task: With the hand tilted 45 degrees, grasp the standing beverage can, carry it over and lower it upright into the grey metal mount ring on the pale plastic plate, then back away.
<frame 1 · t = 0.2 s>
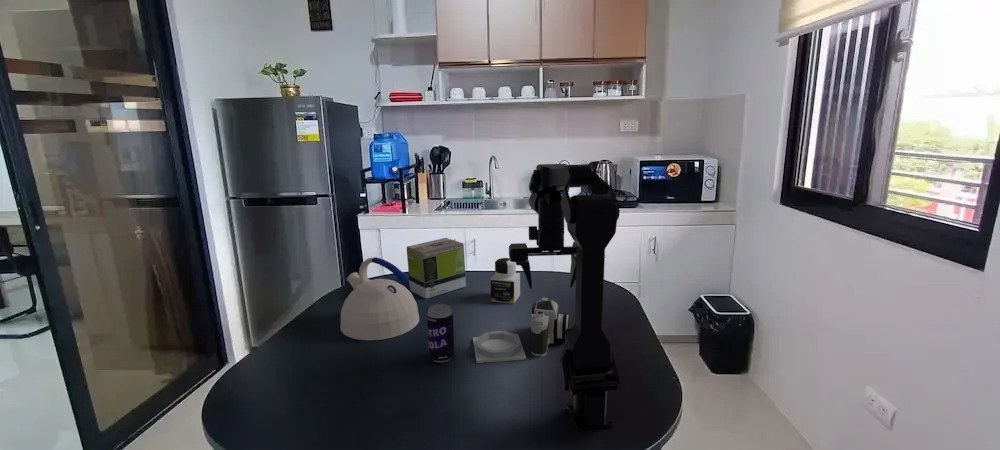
hand: (550, 287, 105), 14 cm above the table, tool pointing down, fingers open, 9 cm apart
tea box: (437, 289, 144), on the table
kettle: (380, 323, 121), on the table
beverage can: (441, 358, 103), on the table
medicine bottle: (505, 299, 136), on the table
camera: (549, 342, 110), on the table
mount: (498, 349, 106), on the table
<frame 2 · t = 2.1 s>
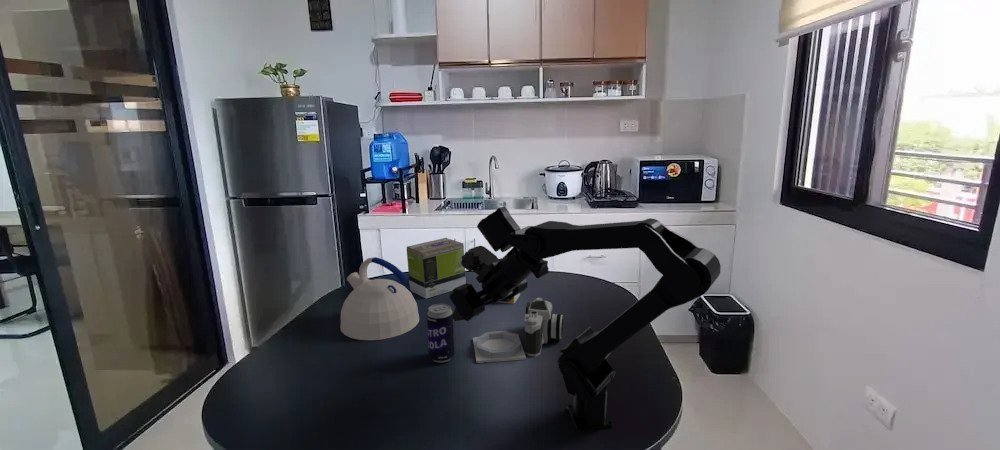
hand: (469, 310, 95), 13 cm above the table, tool tilted 45°, fingers open, 9 cm apart
camera: (543, 342, 110), on the table
everything else where it was.
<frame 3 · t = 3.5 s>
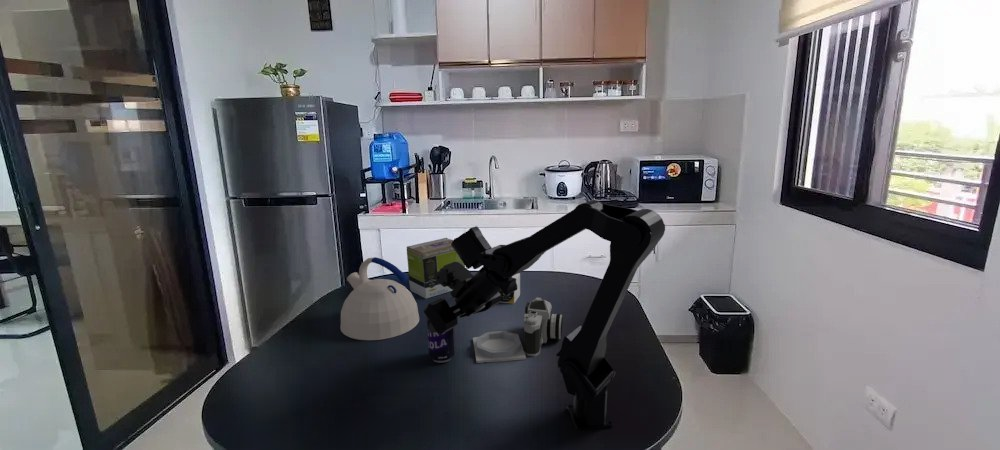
hand: (445, 322, 100), 9 cm above the table, tool tilted 45°, fingers open, 9 cm apart
nothing on the table moved.
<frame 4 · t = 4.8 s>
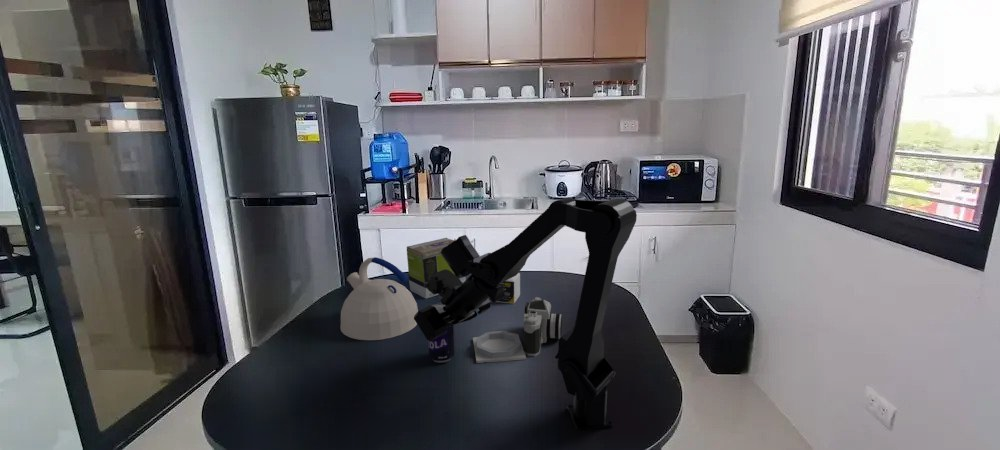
hand: (436, 329, 102), 7 cm above the table, tool tilted 45°, fingers closed on beverage can, 6 cm apart
beverage can: (441, 358, 103), on the table, touching gripper
everything else where it was.
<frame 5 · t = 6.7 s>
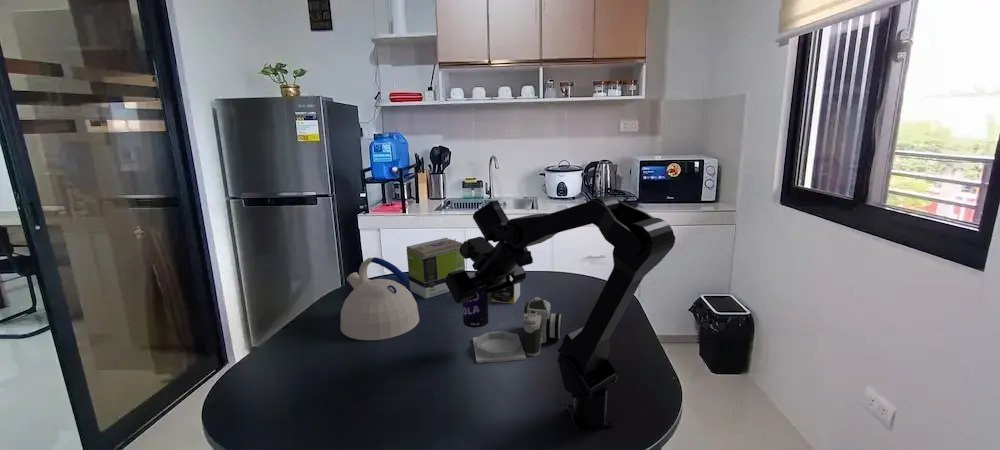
hand: (471, 296, 103), 13 cm above the table, tool tilted 45°, fingers closed on beverage can, 6 cm apart
beverage can: (476, 326, 104), point 6 cm above the table, touching gripper
camera: (542, 341, 110), on the table, touching mount
everything else where it was.
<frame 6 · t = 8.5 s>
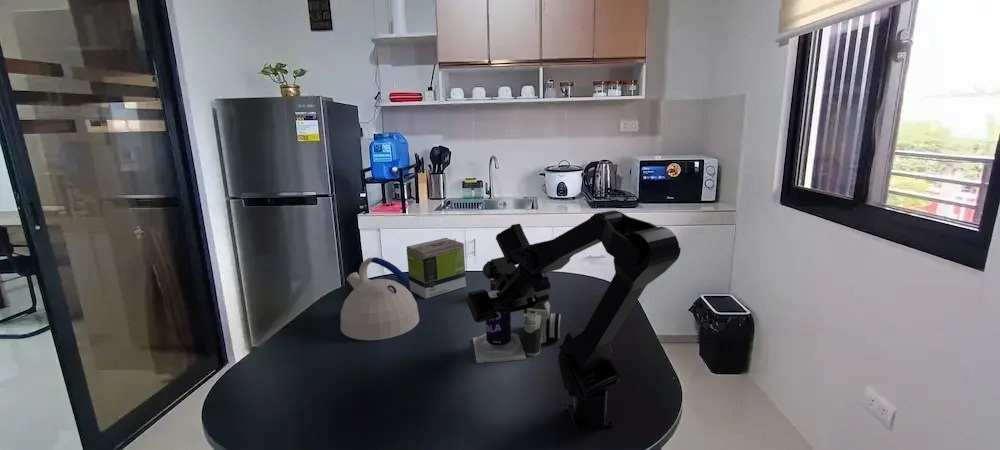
hand: (494, 314, 106), 8 cm above the table, tool tilted 45°, fingers closed on beverage can, 5 cm apart
beverage can: (498, 343, 106), point 1 cm above the table, touching gripper
camera: (541, 341, 110), on the table
everything else where it was.
when the fingers open (8 cm above the table, at t = 8.7 s): beverage can drops 1 cm, resting on mount.
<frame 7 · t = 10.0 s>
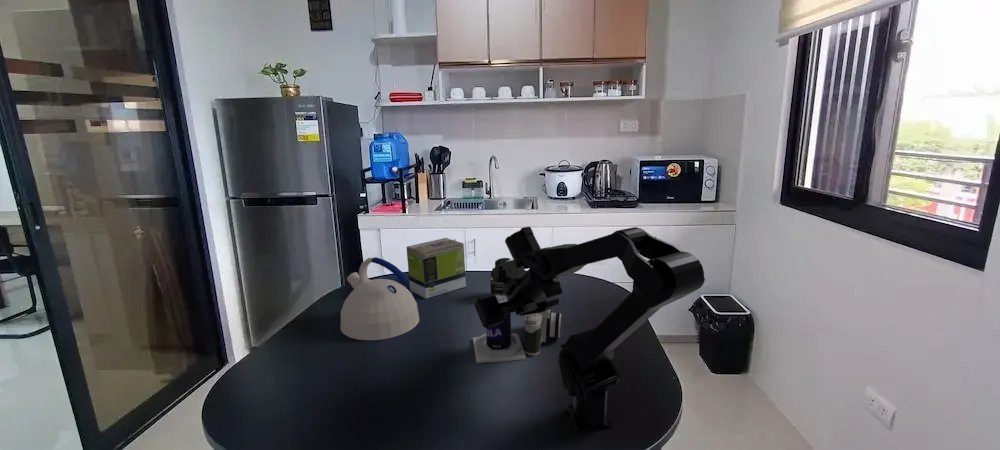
hand: (503, 318, 103), 8 cm above the table, tool tilted 45°, fingers open, 9 cm apart
beverage can: (498, 347, 106), resting on mount
camera: (541, 340, 110), on the table, touching gripper
everything else where it was.
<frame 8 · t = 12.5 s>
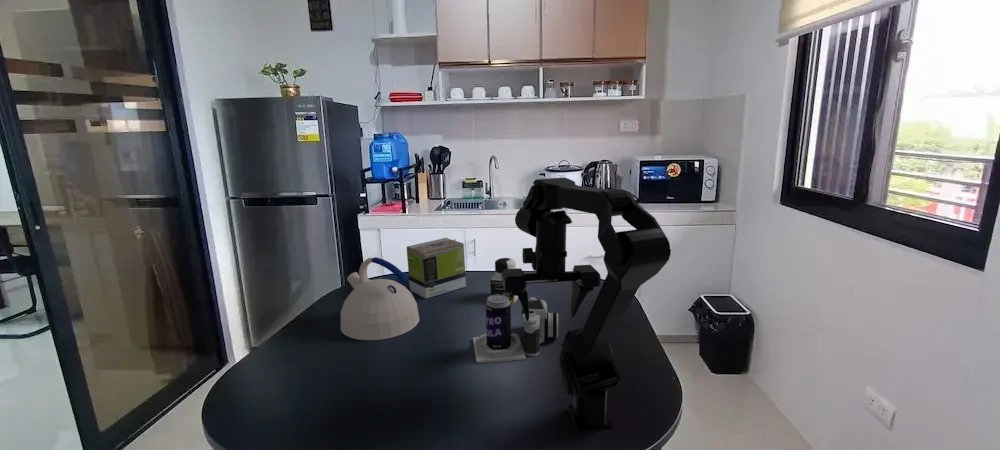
hand: (549, 318, 92), 13 cm above the table, tool pointing down, fingers open, 9 cm apart
camera: (540, 341, 111), on the table
everything else where it was.
at the end: beverage can inside the target area on the mount (0.2 cm from its centre), point 0.4 cm above the mount's base; beverage can tilted 0°; the gripper is holding nothing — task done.
